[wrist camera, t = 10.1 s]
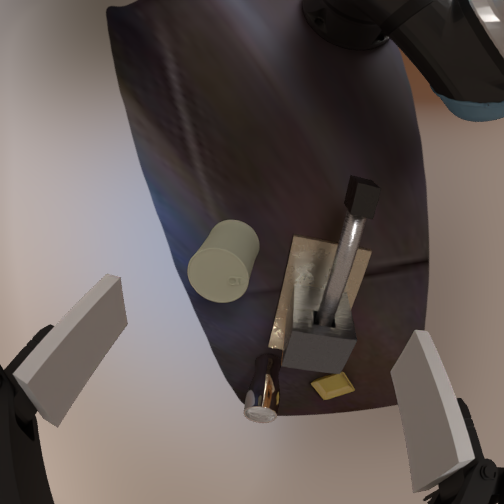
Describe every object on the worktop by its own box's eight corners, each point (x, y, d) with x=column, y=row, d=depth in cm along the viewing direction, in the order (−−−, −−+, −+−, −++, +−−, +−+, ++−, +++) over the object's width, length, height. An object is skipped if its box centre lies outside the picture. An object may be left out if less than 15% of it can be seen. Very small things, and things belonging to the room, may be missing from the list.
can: (257, 269, 53) (247, 309, 42) (208, 263, 54) (187, 300, 43) (261, 222, 49) (250, 253, 38) (208, 217, 50) (184, 245, 39)
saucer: (323, 394, 67) (324, 400, 65) (310, 377, 64) (310, 383, 62) (354, 384, 64) (355, 390, 62) (343, 365, 61) (343, 372, 59)
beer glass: (247, 357, 63) (235, 409, 50) (274, 348, 61) (267, 403, 47) (263, 374, 65) (254, 425, 52) (288, 367, 63) (284, 420, 49)
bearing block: (293, 233, 49) (291, 275, 36) (370, 249, 48) (391, 293, 35) (268, 343, 60) (260, 394, 48) (330, 353, 59) (333, 404, 47)
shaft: (350, 175, 36) (358, 182, 31) (371, 180, 36) (381, 188, 31) (307, 331, 48) (307, 351, 43) (323, 333, 48) (324, 353, 43)
